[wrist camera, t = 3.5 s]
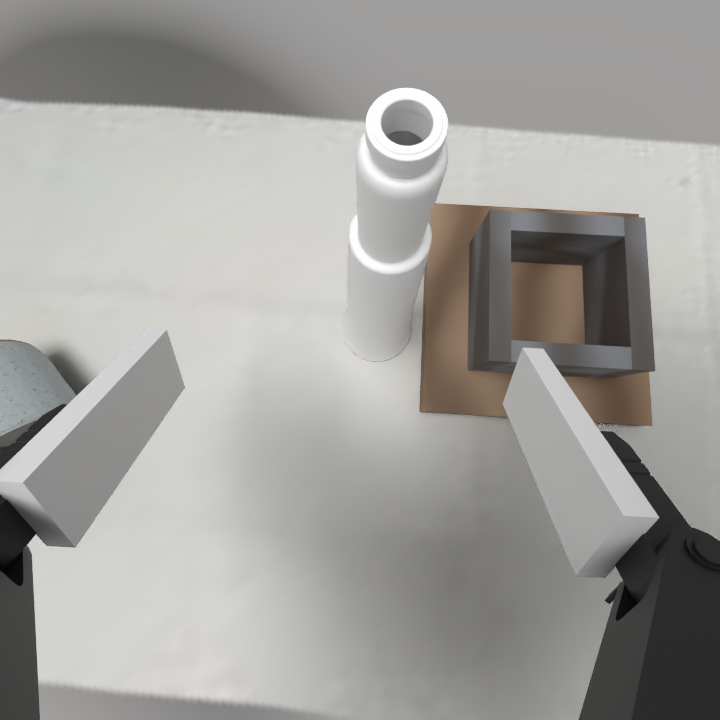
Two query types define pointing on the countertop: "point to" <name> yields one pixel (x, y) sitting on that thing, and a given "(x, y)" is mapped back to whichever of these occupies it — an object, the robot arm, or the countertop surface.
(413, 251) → the cosmetic bottle
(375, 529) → the countertop surface
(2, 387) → the ceramic mug
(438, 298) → the bottle holder
